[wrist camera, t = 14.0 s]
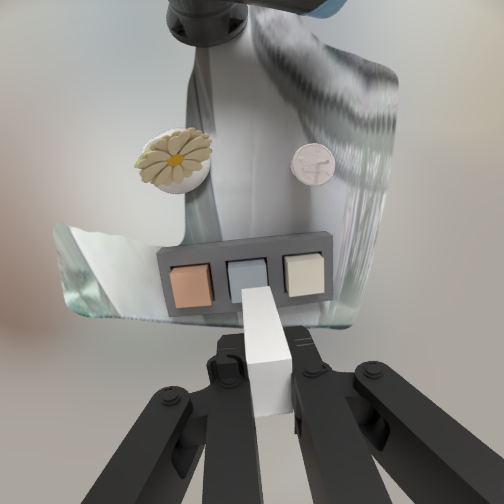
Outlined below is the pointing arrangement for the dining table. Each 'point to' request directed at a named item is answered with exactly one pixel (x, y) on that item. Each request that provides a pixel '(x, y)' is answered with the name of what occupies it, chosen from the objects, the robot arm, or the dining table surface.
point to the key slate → (246, 276)
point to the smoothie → (313, 164)
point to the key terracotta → (192, 285)
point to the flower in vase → (176, 160)
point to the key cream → (303, 273)
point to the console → (246, 249)
